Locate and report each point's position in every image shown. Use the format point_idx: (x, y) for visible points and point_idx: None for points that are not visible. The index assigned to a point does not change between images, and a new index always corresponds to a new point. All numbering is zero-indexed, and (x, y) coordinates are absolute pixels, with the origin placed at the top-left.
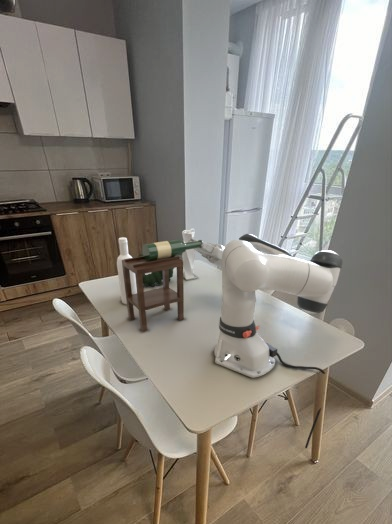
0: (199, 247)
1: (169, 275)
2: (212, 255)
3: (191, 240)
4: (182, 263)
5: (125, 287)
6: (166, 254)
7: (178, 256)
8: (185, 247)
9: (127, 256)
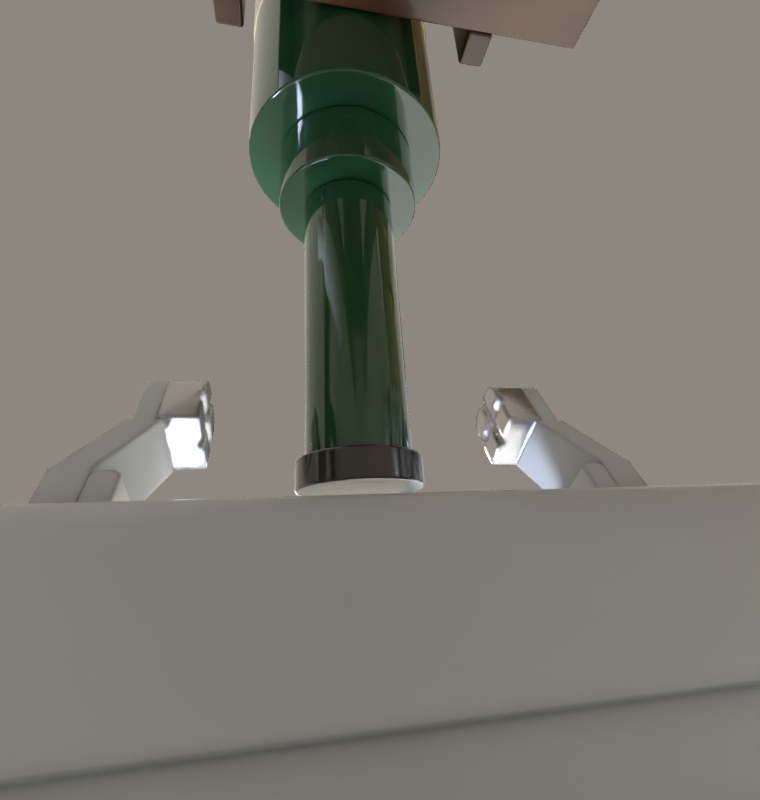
0: (400, 426)
1: None
2: (716, 497)
3: (212, 416)
4: (589, 9)
5: None
6: None
7: (469, 61)
8: (409, 217)
9: None
